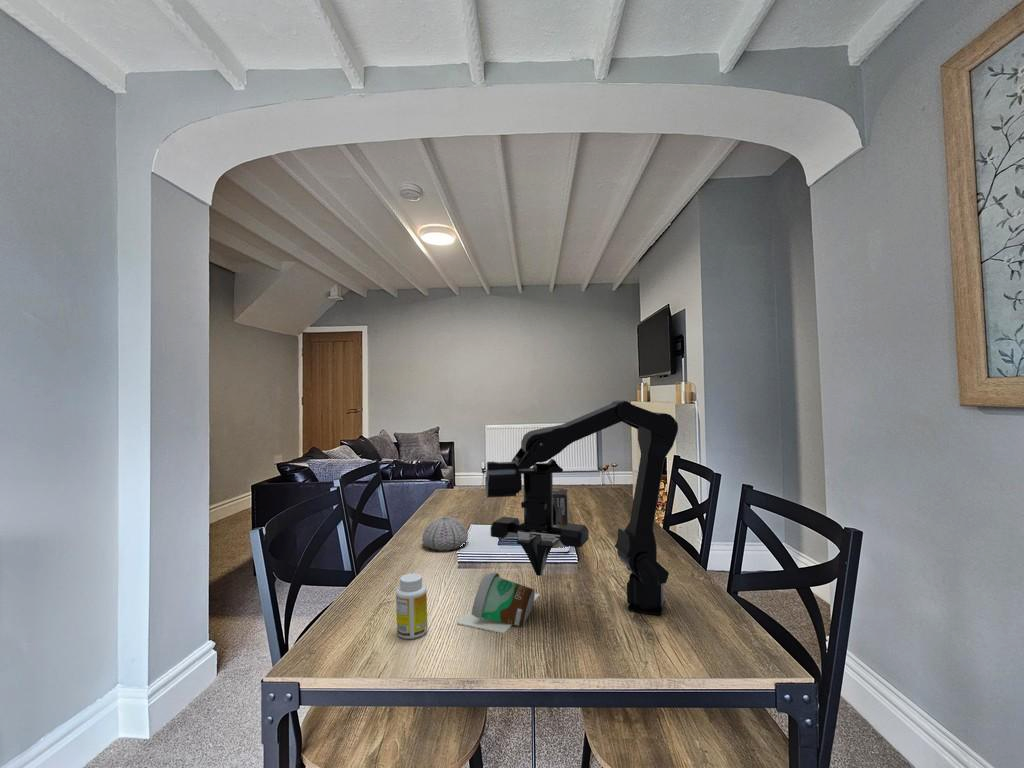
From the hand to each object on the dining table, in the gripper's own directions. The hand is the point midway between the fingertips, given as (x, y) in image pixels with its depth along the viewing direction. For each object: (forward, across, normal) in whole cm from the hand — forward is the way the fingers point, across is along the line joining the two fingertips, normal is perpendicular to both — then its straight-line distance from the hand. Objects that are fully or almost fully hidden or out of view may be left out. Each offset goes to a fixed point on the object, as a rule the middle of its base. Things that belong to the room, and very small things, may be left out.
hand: (539, 575), depth 97 cm
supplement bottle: (+8, +20, +15) cm, 26 cm away
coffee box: (+8, +11, -39) cm, 42 cm away
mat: (+8, +8, 0) cm, 12 cm away
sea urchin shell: (+9, +41, -31) cm, 53 cm away
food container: (+5, +2, 0) cm, 5 cm away
